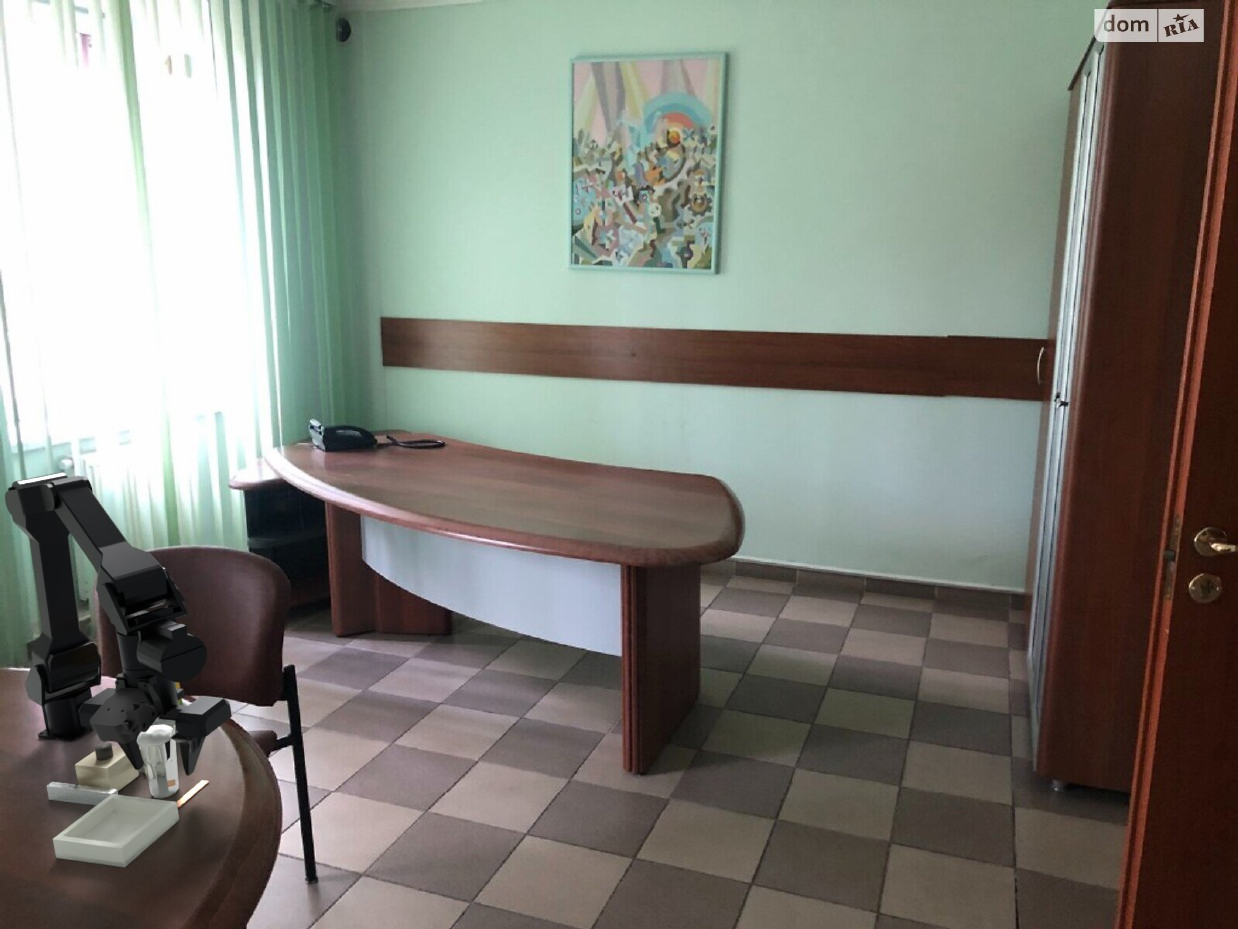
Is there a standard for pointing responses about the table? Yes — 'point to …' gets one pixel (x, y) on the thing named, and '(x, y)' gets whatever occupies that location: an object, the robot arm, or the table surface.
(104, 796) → the slide rails
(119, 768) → the slider
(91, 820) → the tray
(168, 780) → the milkshake
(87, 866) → the table surface
